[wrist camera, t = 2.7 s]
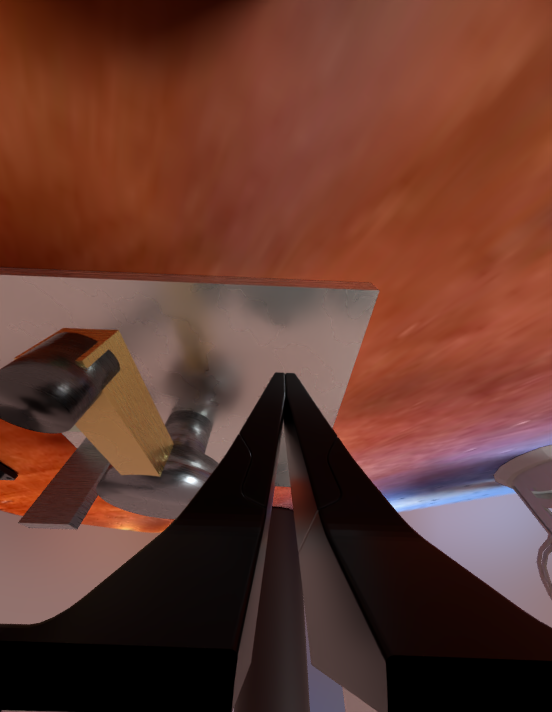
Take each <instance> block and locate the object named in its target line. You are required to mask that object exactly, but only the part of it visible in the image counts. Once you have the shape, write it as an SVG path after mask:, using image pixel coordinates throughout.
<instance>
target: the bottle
mask: <svg viewBox="0 0 552 712" xmlns="http://www.w3.org/2000/svg"><path fill="white" fill-rule="evenodd" d="M304 620H305V618H304V600H303V588H302V580H301V571H300V563H299V552H298V545H297V537H296V528H295V520H294V511H292V510H289V509H285V508H275V507H273V508H272V510H271V518H270V525H269V532H268V540H267V547H266V555H265V562H264V569H263V577H262V584H261V592H260V599H259V606H258V614H257V621H256V628H255V636H254V643H253V651H252V659H251V664H250V667H249V669H248V672H247V674H246V677H245V680H244V682H243V685H242V687H241V690H240V693H239V695H238V698H237V700H236V703H235V706H234V712H310V707H309V691H308V690H309V688H308V673H307V654H306V636H305V621H304Z"/></svg>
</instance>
